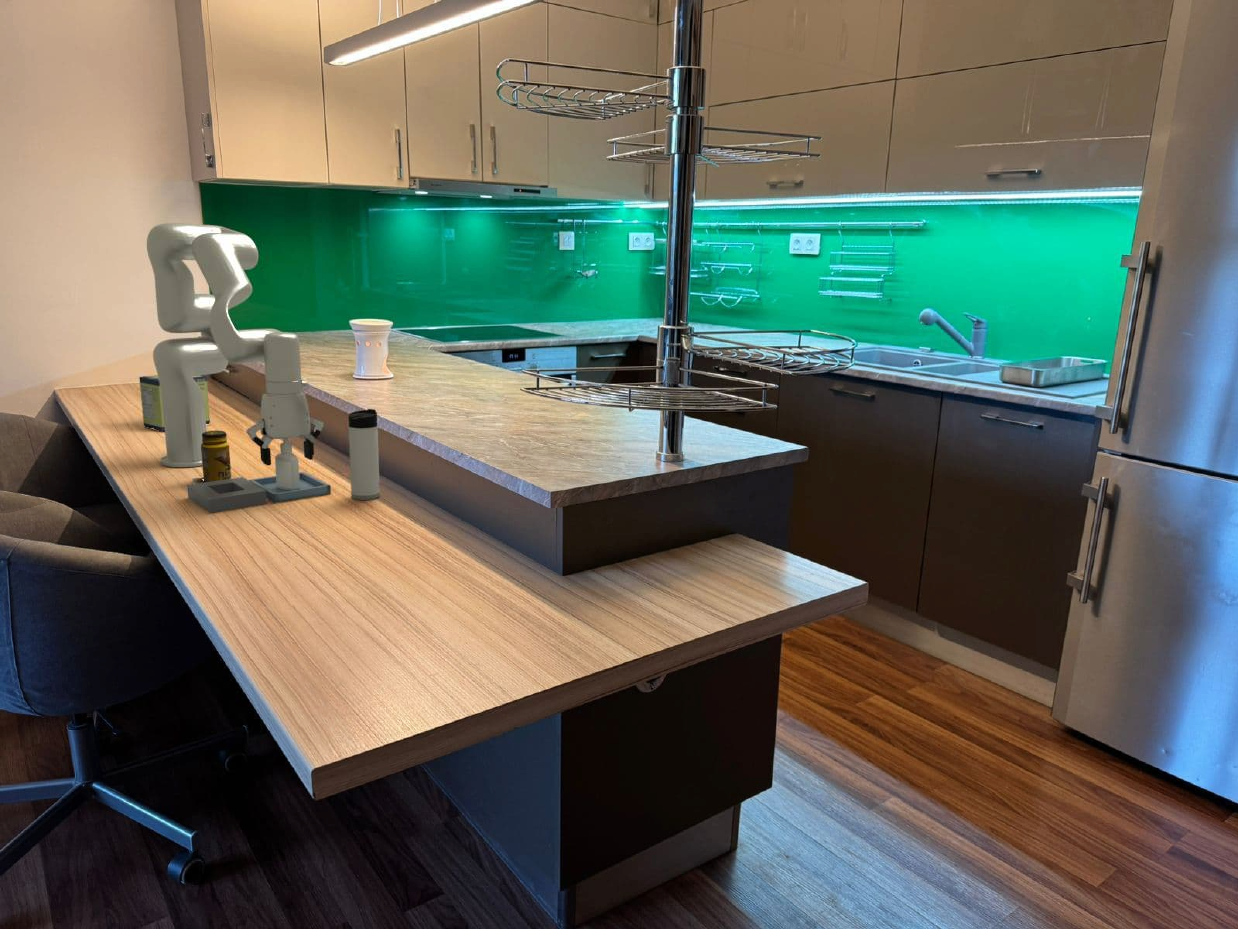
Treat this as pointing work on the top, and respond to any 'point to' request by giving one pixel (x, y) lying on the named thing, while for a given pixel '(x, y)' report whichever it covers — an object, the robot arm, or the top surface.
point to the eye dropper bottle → (287, 468)
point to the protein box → (154, 400)
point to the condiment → (215, 457)
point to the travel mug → (364, 454)
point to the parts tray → (307, 489)
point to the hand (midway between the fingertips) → (288, 461)
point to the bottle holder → (226, 494)
